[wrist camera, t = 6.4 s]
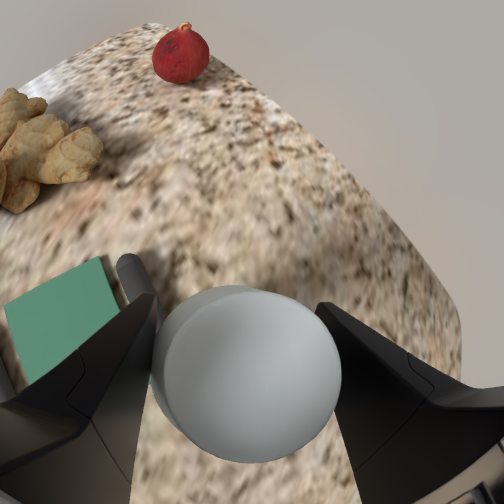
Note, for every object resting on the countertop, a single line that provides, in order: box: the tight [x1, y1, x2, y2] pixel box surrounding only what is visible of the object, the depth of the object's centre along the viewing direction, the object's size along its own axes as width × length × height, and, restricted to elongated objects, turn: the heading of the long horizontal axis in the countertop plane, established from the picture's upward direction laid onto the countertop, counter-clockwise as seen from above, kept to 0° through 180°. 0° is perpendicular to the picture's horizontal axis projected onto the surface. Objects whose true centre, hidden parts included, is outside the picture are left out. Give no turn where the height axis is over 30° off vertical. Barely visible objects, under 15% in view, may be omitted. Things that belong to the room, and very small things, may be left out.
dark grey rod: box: [0, 355, 16, 403], centre depth 13 cm, size 14×2×2 cm, turn 29°
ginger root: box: [0, 88, 104, 214], centre depth 17 cm, size 16×16×8 cm
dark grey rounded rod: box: [116, 253, 167, 334], centre depth 18 cm, size 14×2×2 cm, turn 29°
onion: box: [152, 22, 209, 84], centre depth 23 cm, size 6×6×8 cm
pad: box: [4, 256, 151, 385], centre depth 17 cm, size 10×10×1 cm
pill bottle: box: [150, 285, 341, 463], centre depth 10 cm, size 5×5×10 cm
